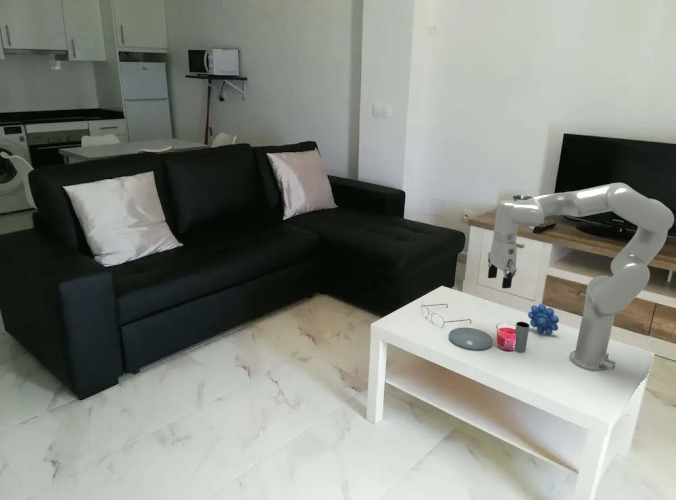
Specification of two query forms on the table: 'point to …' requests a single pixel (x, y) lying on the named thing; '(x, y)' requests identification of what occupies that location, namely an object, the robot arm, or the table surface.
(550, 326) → the grapes
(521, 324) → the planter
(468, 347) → the dish
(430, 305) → the eyeglasses
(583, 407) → the table surface
